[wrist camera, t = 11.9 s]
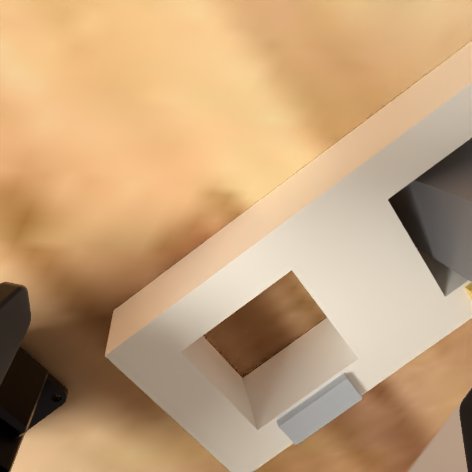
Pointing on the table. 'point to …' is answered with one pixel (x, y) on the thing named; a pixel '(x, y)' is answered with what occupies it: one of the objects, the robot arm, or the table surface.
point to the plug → (441, 210)
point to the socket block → (308, 286)
